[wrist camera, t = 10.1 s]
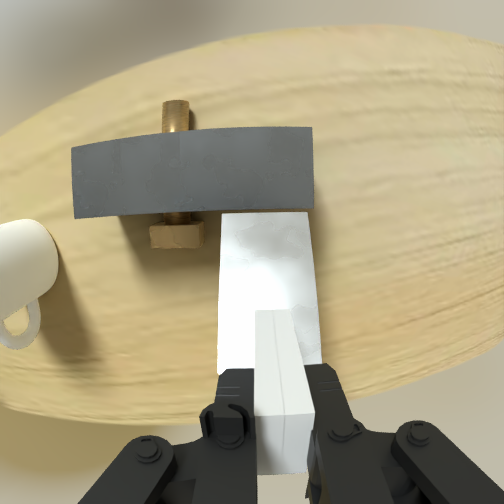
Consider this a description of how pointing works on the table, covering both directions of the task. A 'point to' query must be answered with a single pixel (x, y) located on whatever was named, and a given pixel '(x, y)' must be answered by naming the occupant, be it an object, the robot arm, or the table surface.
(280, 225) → the tab
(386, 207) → the table surface
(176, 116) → the lynch pin
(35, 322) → the mug
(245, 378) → the robot arm
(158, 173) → the block
